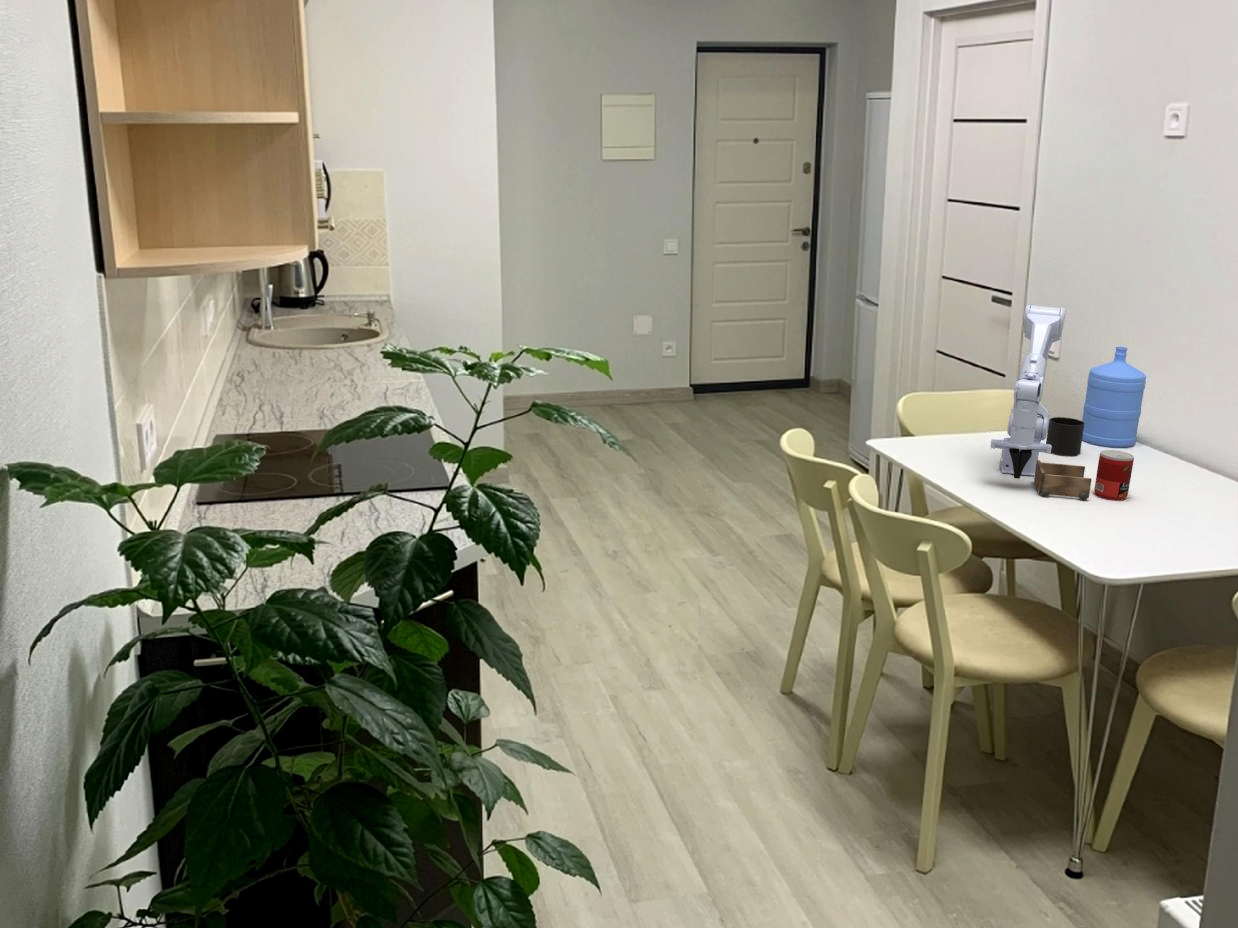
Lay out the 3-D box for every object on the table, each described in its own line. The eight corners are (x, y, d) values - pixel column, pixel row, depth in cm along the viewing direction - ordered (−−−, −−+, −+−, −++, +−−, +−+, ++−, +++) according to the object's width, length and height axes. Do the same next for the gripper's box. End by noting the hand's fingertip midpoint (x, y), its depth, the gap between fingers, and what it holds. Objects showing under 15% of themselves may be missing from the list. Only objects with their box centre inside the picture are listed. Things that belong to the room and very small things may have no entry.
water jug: (1144, 449, 345) (1160, 354, 337) (1090, 447, 345) (1104, 352, 337) (1123, 435, 360) (1137, 343, 352) (1071, 433, 360) (1084, 341, 352)
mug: (1068, 445, 346) (1072, 415, 344) (1085, 457, 335) (1090, 425, 332) (1036, 444, 346) (1040, 414, 343) (1052, 456, 334) (1057, 425, 332)
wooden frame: (1039, 496, 298) (1042, 473, 296) (1033, 481, 310) (1036, 459, 309) (1088, 501, 295) (1092, 478, 294) (1081, 485, 308) (1084, 463, 306)
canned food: (1124, 502, 295) (1131, 460, 292) (1090, 496, 299) (1097, 454, 296) (1129, 495, 302) (1136, 453, 298) (1096, 489, 306) (1103, 447, 302)
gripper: (994, 427, 298) (988, 479, 302) (1055, 432, 295) (1048, 484, 299) (992, 420, 305) (986, 471, 309) (1052, 425, 302) (1044, 476, 306)
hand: (1016, 477), depth 304 cm, fingers closed
